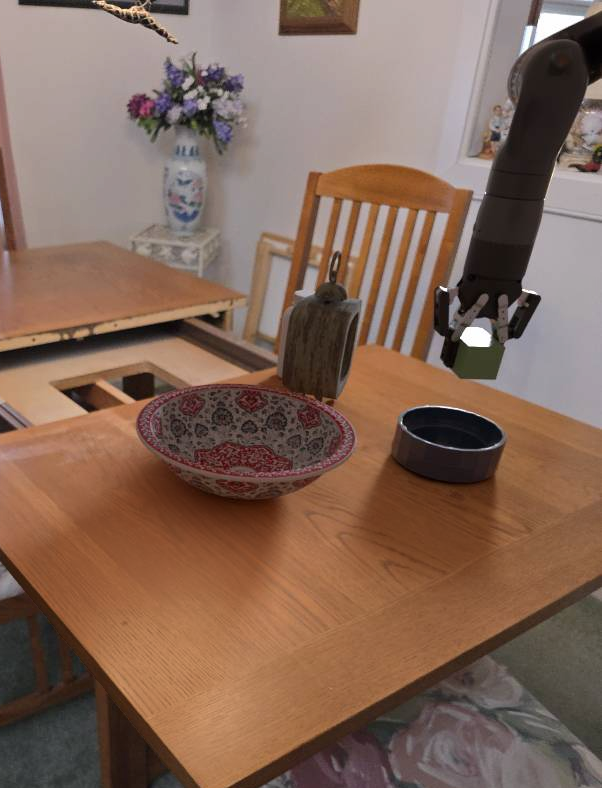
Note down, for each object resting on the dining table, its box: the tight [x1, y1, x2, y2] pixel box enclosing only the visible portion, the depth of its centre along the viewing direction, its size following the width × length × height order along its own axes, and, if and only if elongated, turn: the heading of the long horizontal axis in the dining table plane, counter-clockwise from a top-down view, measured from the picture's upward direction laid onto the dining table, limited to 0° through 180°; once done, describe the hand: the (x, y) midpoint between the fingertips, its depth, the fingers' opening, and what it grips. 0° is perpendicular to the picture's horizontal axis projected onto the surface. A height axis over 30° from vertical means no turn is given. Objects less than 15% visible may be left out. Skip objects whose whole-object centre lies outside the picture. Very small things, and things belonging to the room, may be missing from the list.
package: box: [439, 327, 506, 381], centre depth 96 cm, size 5×8×4 cm, turn 3°
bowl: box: [390, 405, 508, 483], centre depth 104 cm, size 15×15×6 cm
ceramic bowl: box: [135, 383, 357, 500], centre depth 95 cm, size 29×29×8 cm
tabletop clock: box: [281, 250, 363, 403], centre depth 112 cm, size 14×9×25 cm, turn 160°
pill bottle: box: [276, 289, 316, 379], centre depth 127 cm, size 8×8×15 cm
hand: (467, 366), depth 97 cm, fingers closed on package, 5 cm apart
